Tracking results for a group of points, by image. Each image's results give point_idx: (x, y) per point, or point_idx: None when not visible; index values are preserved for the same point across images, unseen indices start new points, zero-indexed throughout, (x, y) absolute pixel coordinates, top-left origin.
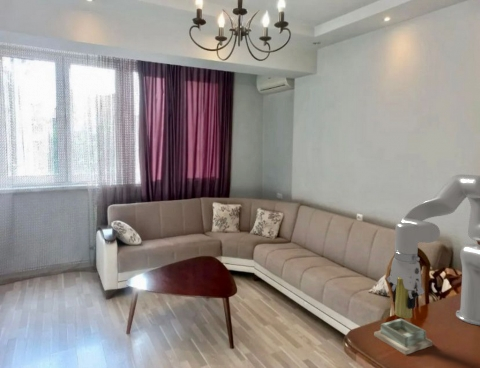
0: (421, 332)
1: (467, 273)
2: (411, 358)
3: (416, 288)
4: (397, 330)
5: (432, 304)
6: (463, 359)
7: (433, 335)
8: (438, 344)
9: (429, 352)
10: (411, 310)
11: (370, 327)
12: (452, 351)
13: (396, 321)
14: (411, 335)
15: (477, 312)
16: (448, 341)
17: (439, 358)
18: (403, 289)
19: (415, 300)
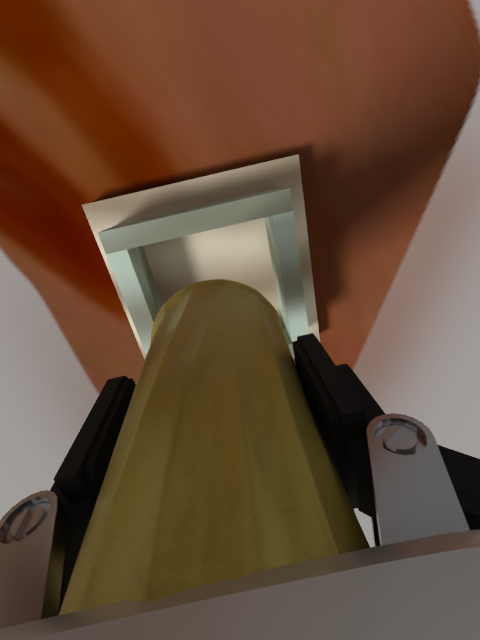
0: (295, 234)
1: None
2: (339, 329)
3: (466, 545)
4: (154, 271)
5: None
6: (443, 96)
7: (203, 47)
8: (295, 111)
9: (335, 225)
10: (284, 338)
11: (79, 349)
12: (373, 89)
13: (140, 292)
14: (303, 312)
15: None
16: (288, 2)
17: (385, 216)
18: None
19: (375, 402)
